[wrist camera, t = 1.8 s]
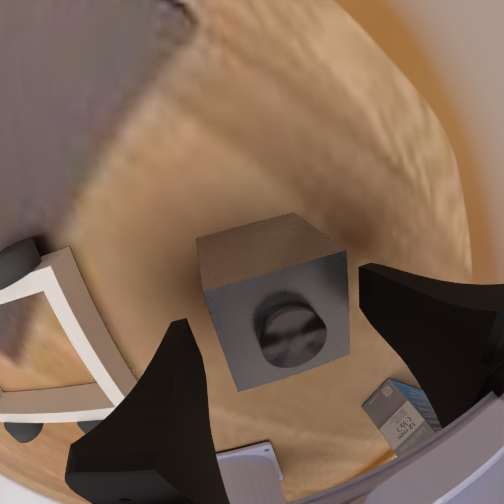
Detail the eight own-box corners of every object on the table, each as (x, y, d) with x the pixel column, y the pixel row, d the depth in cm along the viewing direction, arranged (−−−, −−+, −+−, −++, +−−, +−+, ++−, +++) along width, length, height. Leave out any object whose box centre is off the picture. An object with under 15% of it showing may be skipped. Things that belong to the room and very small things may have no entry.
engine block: (305, 295, 17) (357, 365, 11) (221, 320, 16) (241, 405, 11) (292, 212, 15) (357, 258, 9) (196, 237, 14) (204, 304, 9)
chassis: (147, 398, 17) (146, 439, 14) (12, 410, 16) (0, 440, 12) (61, 224, 12) (29, 249, 9) (-68, 284, 11) (-94, 307, 7)
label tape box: (359, 405, 23) (425, 508, 11) (390, 373, 22) (469, 474, 11) (402, 414, 26) (458, 490, 15) (427, 387, 25) (490, 461, 14)
